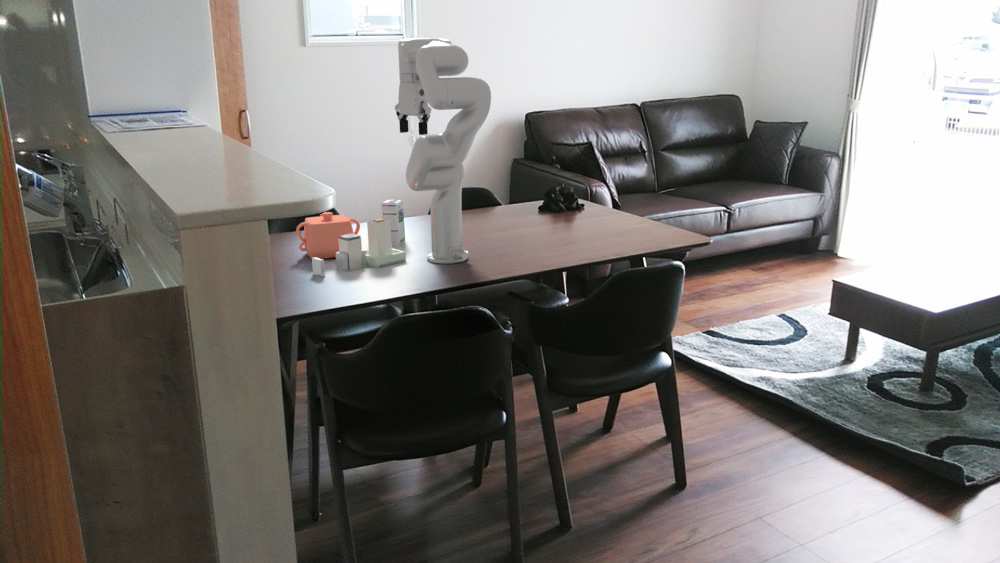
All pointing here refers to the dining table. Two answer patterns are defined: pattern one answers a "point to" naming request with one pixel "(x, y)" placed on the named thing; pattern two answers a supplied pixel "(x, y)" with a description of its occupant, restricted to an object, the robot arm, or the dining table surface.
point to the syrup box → (394, 219)
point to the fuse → (379, 237)
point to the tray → (385, 258)
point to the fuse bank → (344, 255)
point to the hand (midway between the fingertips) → (413, 133)
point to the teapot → (324, 234)
